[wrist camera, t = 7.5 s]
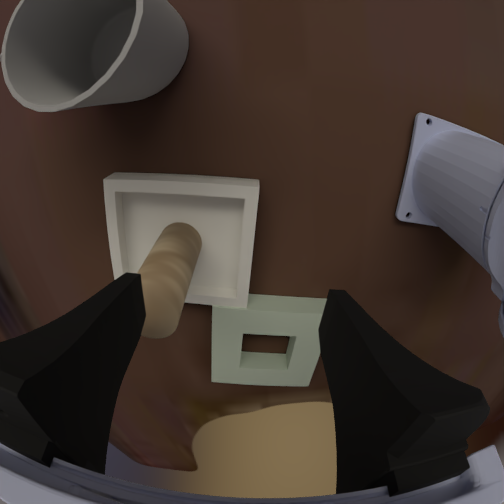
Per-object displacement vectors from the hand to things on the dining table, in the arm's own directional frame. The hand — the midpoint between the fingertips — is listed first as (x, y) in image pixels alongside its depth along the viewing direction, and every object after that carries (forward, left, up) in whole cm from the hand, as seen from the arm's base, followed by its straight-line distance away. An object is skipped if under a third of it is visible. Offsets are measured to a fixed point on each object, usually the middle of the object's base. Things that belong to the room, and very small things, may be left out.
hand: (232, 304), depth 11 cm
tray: (+4, +2, -10) cm, 11 cm away
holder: (-3, +11, -10) cm, 16 cm away
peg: (+4, +3, -10) cm, 11 cm away
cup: (+9, -11, -11) cm, 17 cm away
